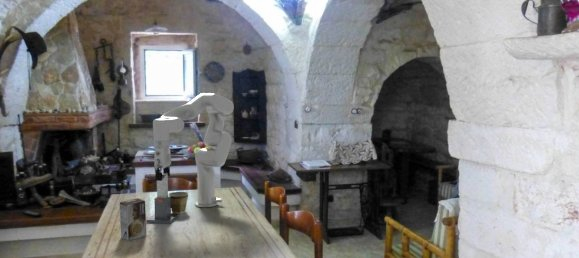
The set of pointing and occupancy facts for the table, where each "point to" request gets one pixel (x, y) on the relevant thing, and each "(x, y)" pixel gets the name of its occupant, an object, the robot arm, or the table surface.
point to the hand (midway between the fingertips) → (162, 178)
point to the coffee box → (132, 219)
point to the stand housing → (162, 211)
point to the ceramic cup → (178, 202)
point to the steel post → (162, 186)
